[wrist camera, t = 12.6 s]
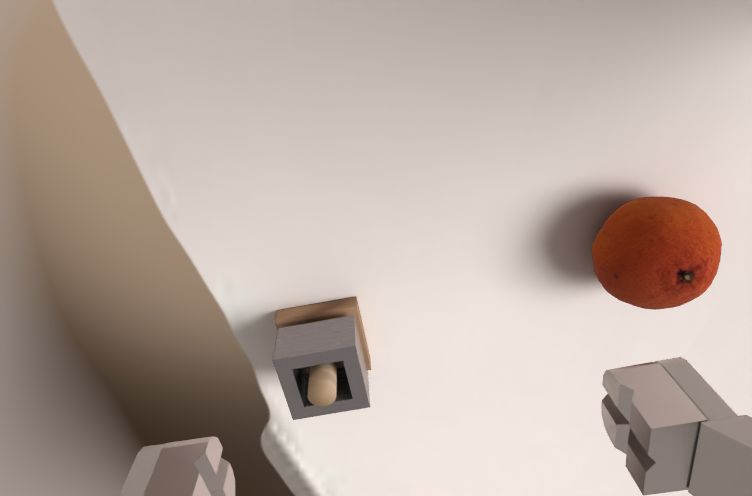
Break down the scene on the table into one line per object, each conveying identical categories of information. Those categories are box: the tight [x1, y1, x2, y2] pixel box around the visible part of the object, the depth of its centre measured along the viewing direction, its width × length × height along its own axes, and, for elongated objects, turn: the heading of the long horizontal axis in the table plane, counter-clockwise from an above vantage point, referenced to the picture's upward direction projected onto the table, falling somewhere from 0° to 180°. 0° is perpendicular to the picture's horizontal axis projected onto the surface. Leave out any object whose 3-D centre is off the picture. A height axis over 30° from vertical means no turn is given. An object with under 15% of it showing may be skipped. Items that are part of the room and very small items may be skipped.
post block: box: [275, 297, 371, 406], centre depth 42 cm, size 7×7×8 cm
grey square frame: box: [273, 315, 370, 420], centre depth 42 cm, size 6×6×4 cm
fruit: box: [592, 197, 722, 309], centre depth 39 cm, size 9×9×8 cm
